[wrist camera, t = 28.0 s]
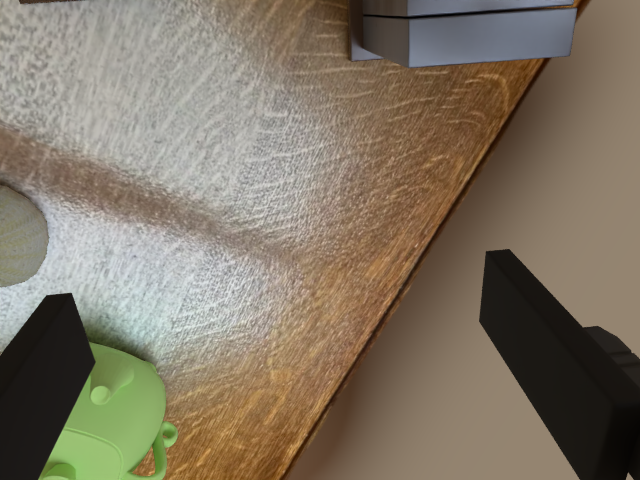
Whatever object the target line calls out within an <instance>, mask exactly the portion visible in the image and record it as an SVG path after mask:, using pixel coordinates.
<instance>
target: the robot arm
mask: <svg viewBox="0 0 640 480" xmlns="http://www.w3.org/2000/svg"><path fill="white" fill-rule="evenodd" d="M479 322H480V323H481V325H482V327H483V328H484V330H485V331H486V333H487V334H488V336H489V337H490V339H491V341H492V342H493V344H494V345H495V347H496V348H497V350H498V352H499V353H500V355H501V356H502V358H503V360H504V361H505V363H506V364H507V366H508V367H509V369H510V370H511V372H512V374H513V375H514V377H515V378H516V380H517V381H518V383H519V385H520V386H521V388H522V389H523V391H524V392H525V394H526V396H527V397H528V399H529V400H530V402H531V403H532V405H533V407H534V408H535V410H536V411H537V413H538V415H539V416H540V417H541V419H542V421H543V422H544V424H545V425H546V427H547V428H548V430H549V432H550V433H551V435H552V436H553V438H554V440H555V441H556V443H557V444H558V446H559V447H560V449H561V451H562V452H563V454H564V455H565V457H566V458H567V460H568V461H569V463H570V465H571V466H572V468H573V469H574V471H575V472H576V474H577V476H578V477H579V479H580V480H626V477H627V474H628V472H629V474H630V475H631V476H632V478H633V479H634V480H640V359H639V358H638V357H637V356H636V355H635V354H634V353H631V350H630V349H629V348H628V347H627V346H626V345H625V344H624V343H623V342H622V341H621V340H620V339H619V338H618V337H617V336H615V335H613V334H611V333H609V332H608V331H606V330H604V329H602V328H601V327H599V326H593V327H584V328H583V327H582V326H581V325H580V324H579V323H578V322H577V321H576V320H575V319H574V318H573V316H572V315H571V314H570V313H569V312H568V311H567V310H566V309H565V308H564V307H563V306H562V305H561V304H560V303H559V302H558V301H557V299H556V298H555V297H553V295H552V294H551V293H550V292H549V291H548V290H547V289H546V288H545V287H544V286H543V285H542V283H541V282H539V280H538V279H537V278H536V277H535V276H534V275H533V274H532V273H531V272H530V271H529V270H528V269H527V268H526V266H525V265H524V264H523V263H522V262H521V261H520V260H519V259H518V258H517V257H516V256H515V255H514V254H513V253H512V252H511V250H510V249H505V250H495V251H486V256H485V267H484V277H483V287H482V298H481V309H480V318H479ZM95 363H96V361H95V359H94V356H93V353H92V350H91V347H90V344H89V341H88V338H87V336H86V333H85V330H84V327H83V324H82V321H81V318H80V315H79V313H78V310H77V307H76V304H75V301H74V298H73V295H72V293H65V294H55V295H46V297H45V298H44V299H43V300H42V302H41V303H40V304H39V306H38V307H37V308H36V310H35V311H34V312H33V313H32V315H31V316H30V317H29V319H28V320H27V321H26V323H25V324H24V325H23V326H22V328H21V329H20V330H19V332H18V333H17V334H16V336H15V337H14V338H13V339H12V341H11V342H10V343H9V345H8V346H7V347H6V349H5V350H4V351H3V353H2V354H1V355H0V480H38V479H39V477H40V475H41V473H42V471H43V469H44V467H45V465H46V463H47V461H48V459H49V457H50V454H51V452H52V450H53V448H54V446H55V444H56V442H57V440H58V438H59V436H60V434H61V432H62V430H63V428H64V426H65V424H66V422H67V420H68V418H69V416H70V414H71V412H72V410H73V408H74V406H75V404H76V401H77V399H78V397H79V395H80V393H81V391H82V389H83V387H84V385H85V383H86V381H87V379H88V377H89V375H90V373H91V371H92V369H93V367H94V365H95Z"/></svg>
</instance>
